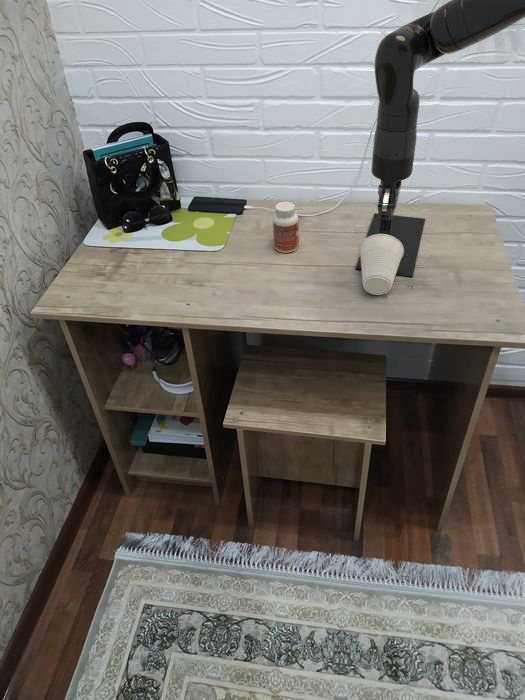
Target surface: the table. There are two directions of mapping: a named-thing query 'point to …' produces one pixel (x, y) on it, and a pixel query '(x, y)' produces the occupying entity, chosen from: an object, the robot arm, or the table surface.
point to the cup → (380, 262)
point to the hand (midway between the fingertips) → (385, 231)
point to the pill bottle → (285, 227)
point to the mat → (401, 240)
